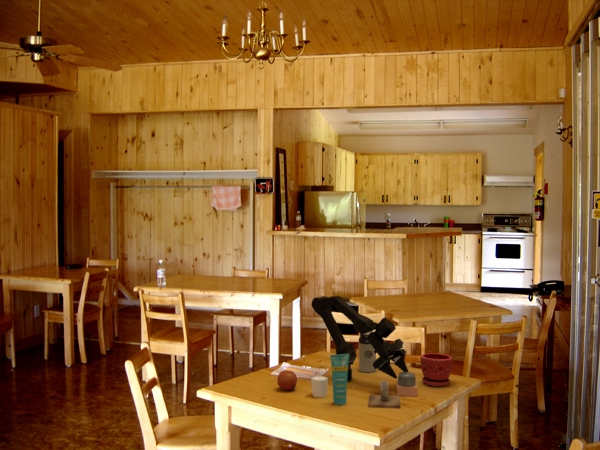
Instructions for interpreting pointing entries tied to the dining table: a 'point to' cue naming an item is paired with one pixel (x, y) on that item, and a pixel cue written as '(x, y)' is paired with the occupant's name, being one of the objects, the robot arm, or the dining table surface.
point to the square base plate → (384, 398)
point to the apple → (287, 380)
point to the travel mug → (366, 355)
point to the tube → (339, 377)
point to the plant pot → (436, 369)
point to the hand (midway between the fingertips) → (402, 375)
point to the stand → (406, 390)
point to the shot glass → (319, 386)
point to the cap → (406, 379)
